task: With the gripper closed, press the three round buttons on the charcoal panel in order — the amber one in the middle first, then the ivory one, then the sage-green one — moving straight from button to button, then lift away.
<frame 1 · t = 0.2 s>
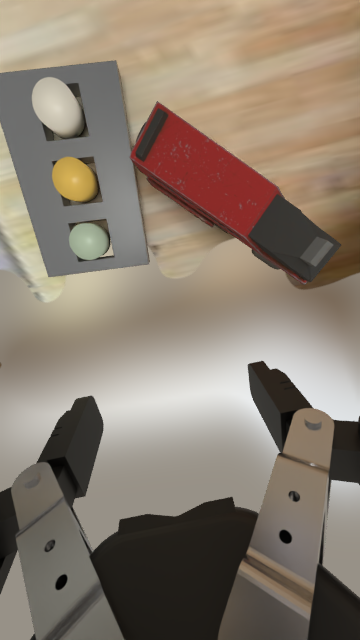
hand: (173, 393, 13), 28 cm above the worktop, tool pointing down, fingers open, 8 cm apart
button amber: (76, 181, 31), point 4 cm above the worktop, slide at 0.0 cm
panel: (84, 185, 34), on the worktop
button sage: (90, 241, 33), point 4 cm above the worktop, slide at 0.0 cm
button ivory: (60, 110, 28), point 4 cm above the worktop, slide at 0.0 cm
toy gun: (218, 209, 36), on the worktop
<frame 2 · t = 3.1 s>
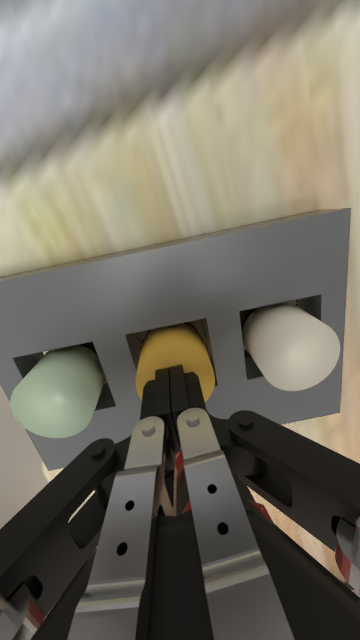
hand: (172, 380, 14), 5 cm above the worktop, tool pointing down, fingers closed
button amber: (174, 366, 16), point 4 cm above the worktop, slide at 0.0 cm, touching gripper
panel: (172, 340, 19), on the worktop
button sage: (64, 388, 16), point 4 cm above the worktop, slide at 0.0 cm
button ivory: (286, 343, 15), point 4 cm above the worktop, slide at 0.0 cm
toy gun: (160, 503, 26), on the worktop
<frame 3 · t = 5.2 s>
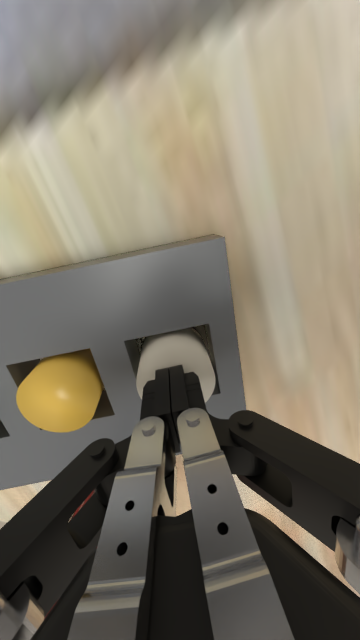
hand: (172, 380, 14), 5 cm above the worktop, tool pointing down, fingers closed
button amber: (67, 384, 16), point 2 cm above the worktop, slide at 1.3 cm
panel: (78, 365, 18), on the worktop
button ivory: (174, 366, 16), point 3 cm above the worktop, slide at 0.8 cm, touching gripper
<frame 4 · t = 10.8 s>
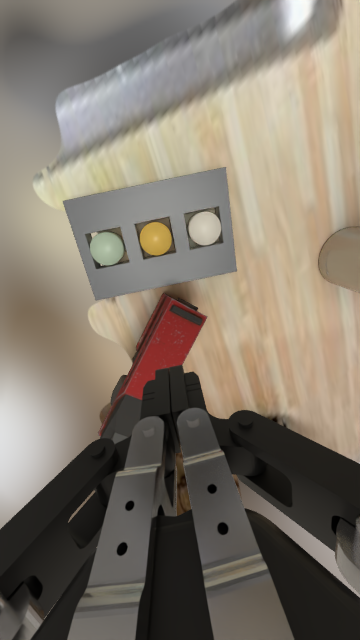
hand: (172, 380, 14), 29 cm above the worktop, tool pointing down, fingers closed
button amber: (156, 238, 36), point 2 cm above the worktop, slide at 1.3 cm
panel: (156, 237, 39), on the worktop
button sage: (108, 248, 36), point 2 cm above the worktop, slide at 1.2 cm
button ivory: (203, 228, 36), point 2 cm above the worktop, slide at 1.3 cm
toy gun: (151, 345, 46), on the worktop
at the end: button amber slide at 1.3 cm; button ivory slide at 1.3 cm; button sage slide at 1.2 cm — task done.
